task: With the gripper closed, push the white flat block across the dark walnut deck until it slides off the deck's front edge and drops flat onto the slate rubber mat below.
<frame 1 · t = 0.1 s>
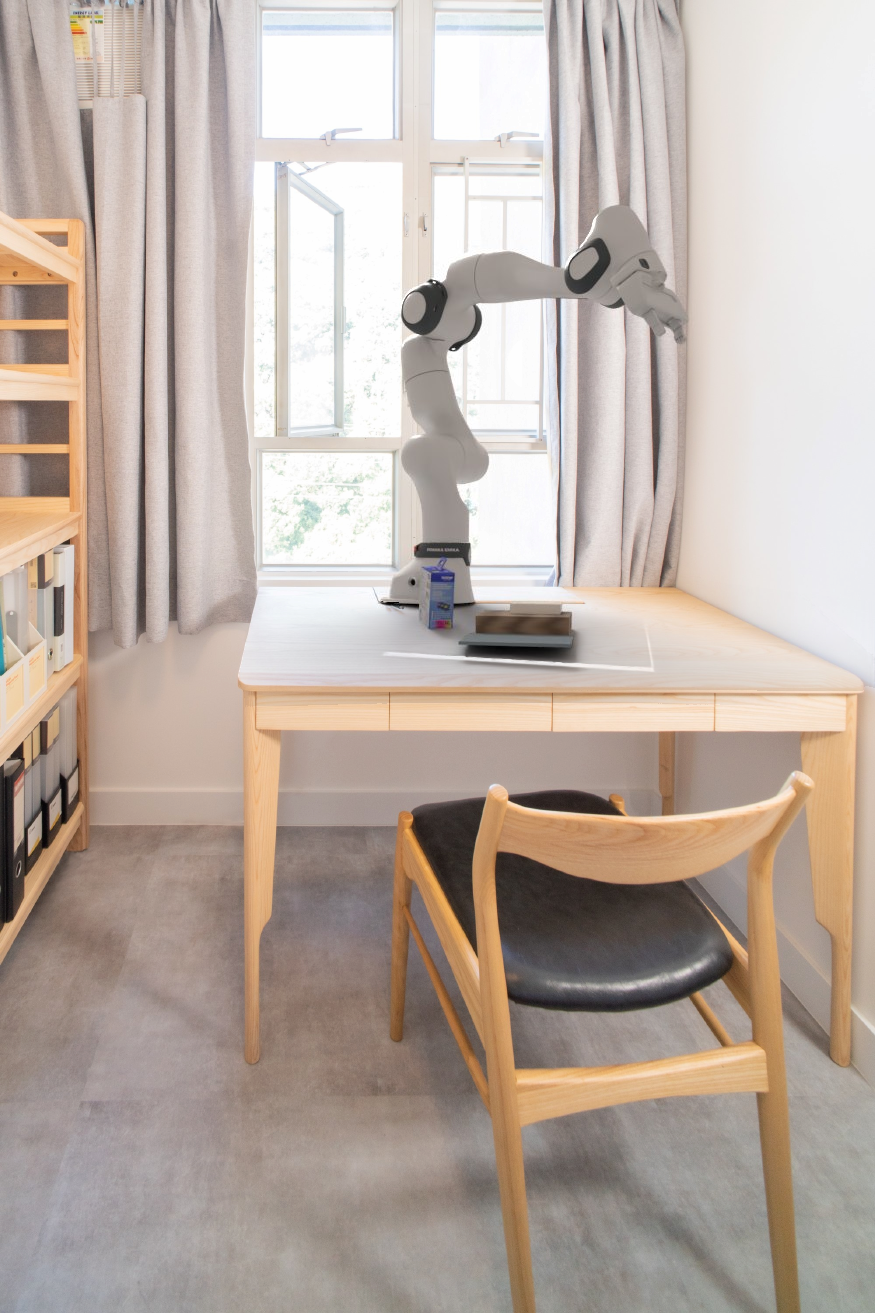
hand: (672, 338, 184), 58 cm above the table, tool tilted 30°, fingers open, 8 cm apart
ink cartridge box: (435, 628, 198), on the table
mat: (518, 641, 175), on the table
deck: (524, 633, 189), on the table
white flat block: (536, 612, 192), point 4 cm above the table, touching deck
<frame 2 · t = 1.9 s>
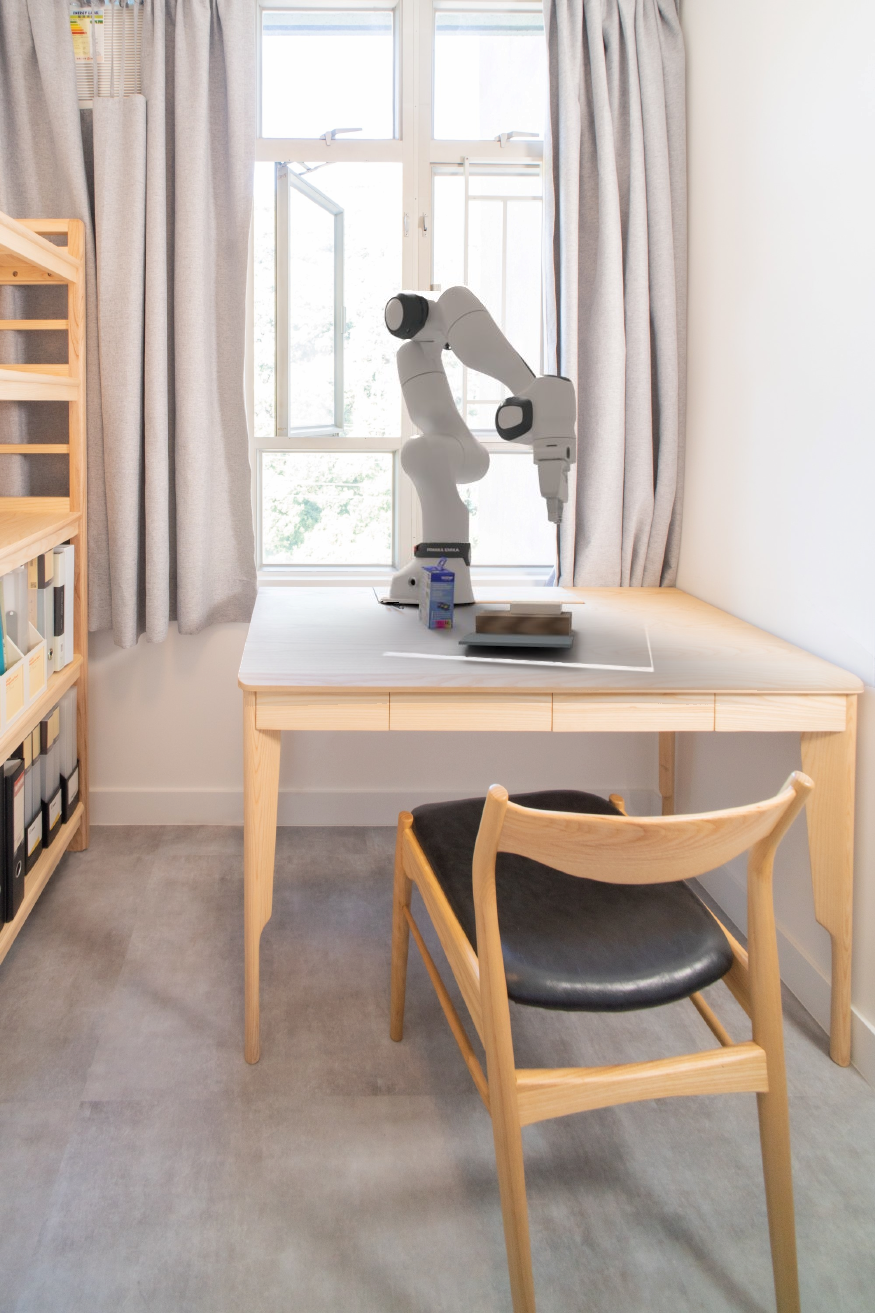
hand: (555, 522, 196), 22 cm above the table, tool pointing down, fingers open, 8 cm apart
nothing on the table moved.
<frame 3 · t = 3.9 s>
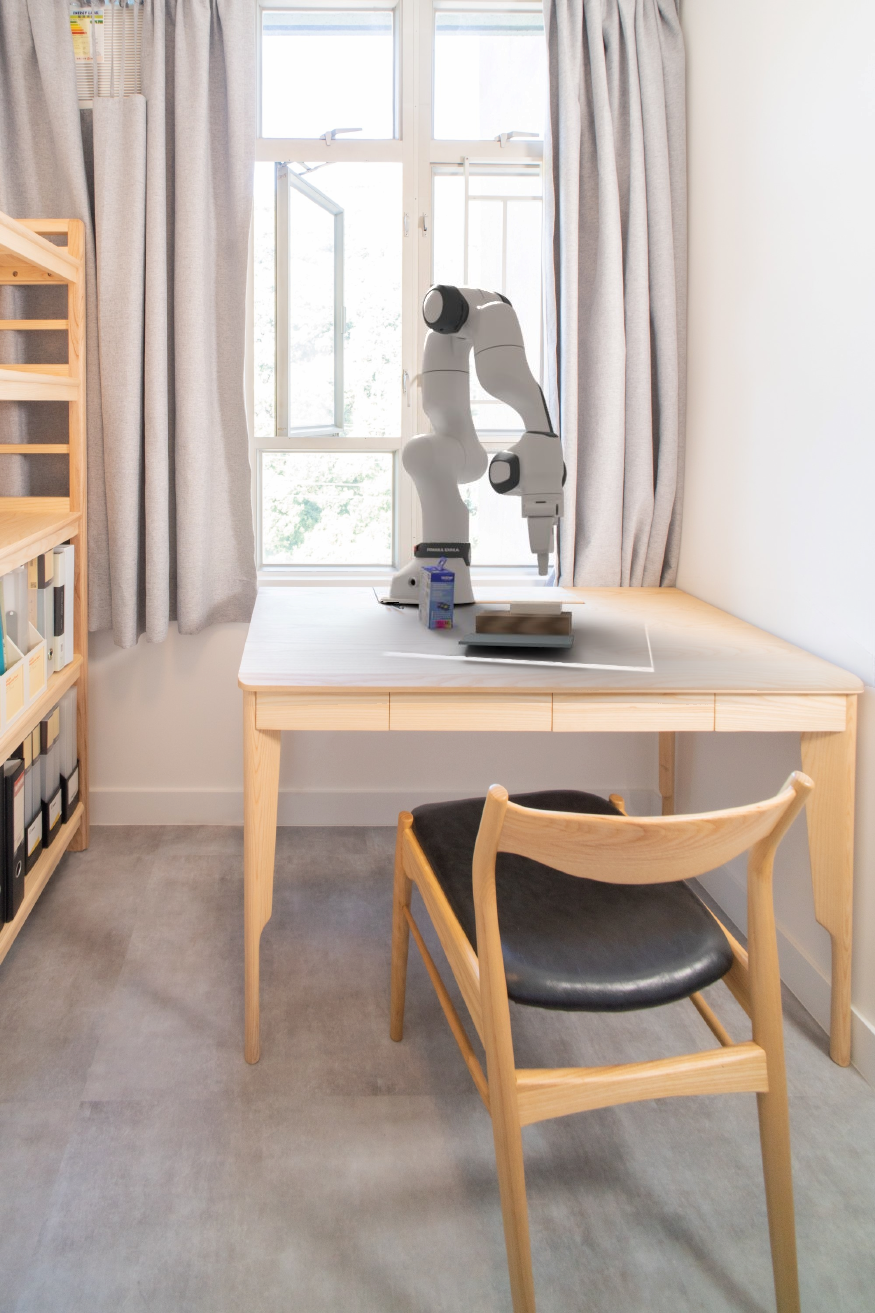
hand: (543, 575, 199), 11 cm above the table, tool pointing down, fingers closed
nothing on the table moved.
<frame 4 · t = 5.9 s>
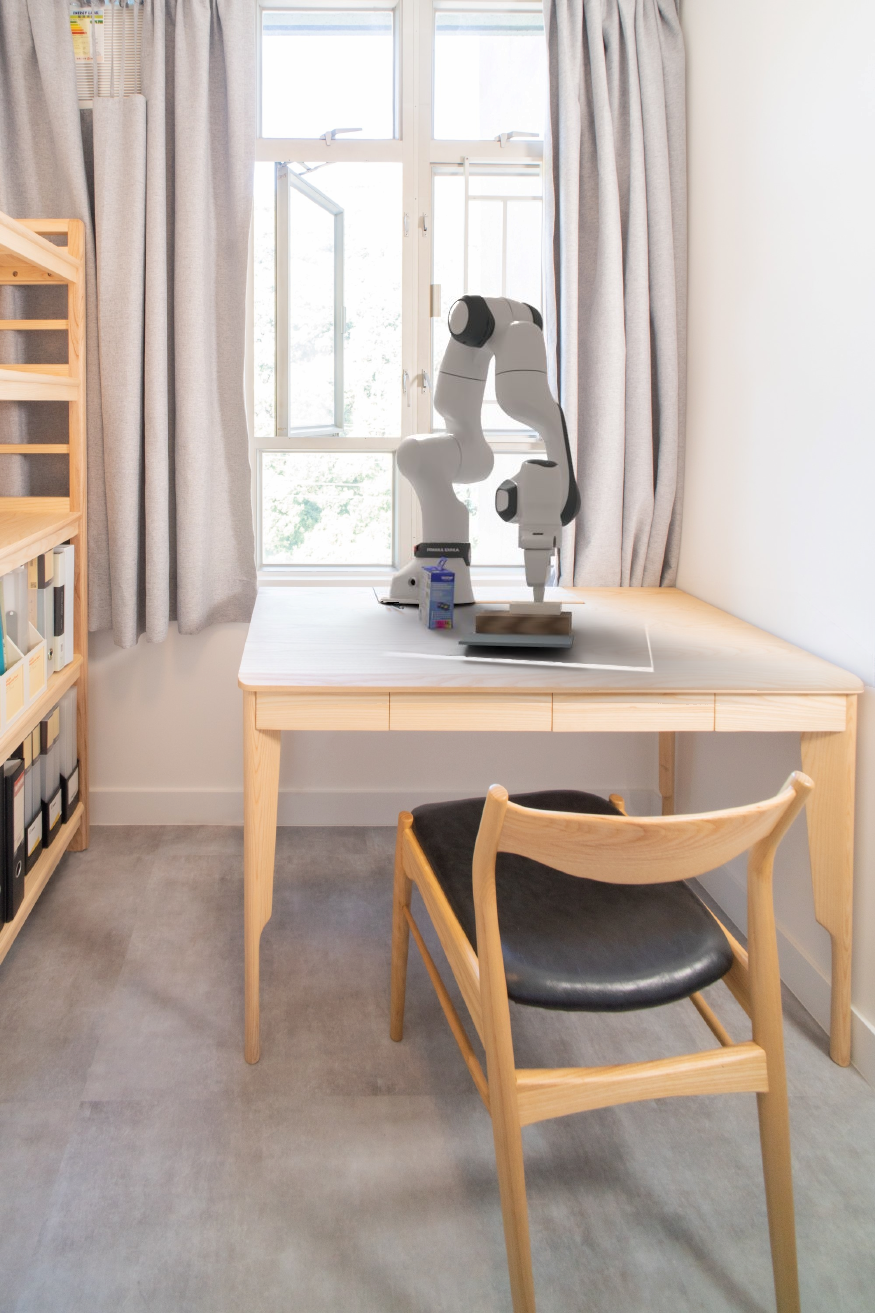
hand: (538, 607, 195), 5 cm above the table, tool pointing down, fingers closed
white flat block: (535, 612, 191), point 4 cm above the table, touching gripper
everything else where it was.
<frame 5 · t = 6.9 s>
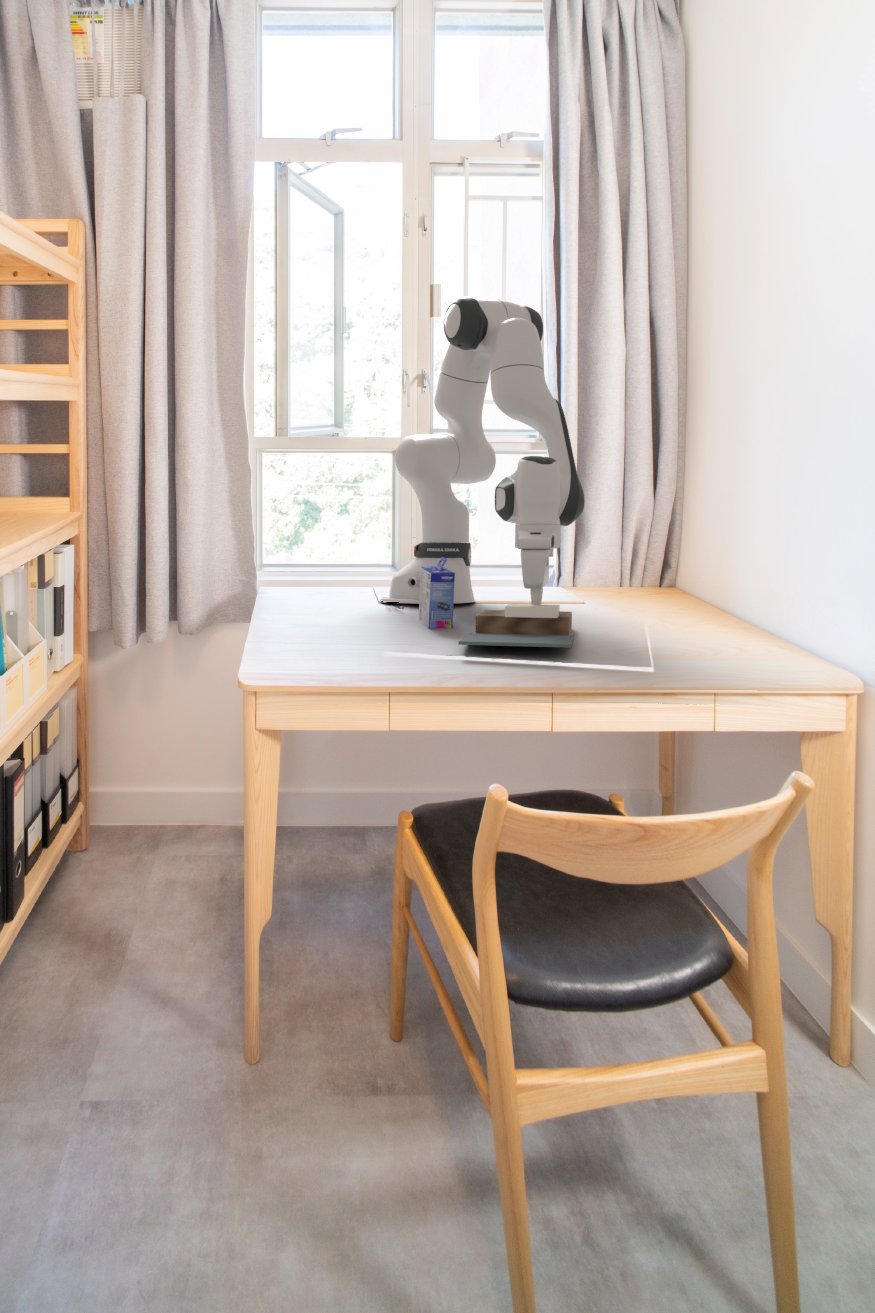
hand: (536, 609, 188), 5 cm above the table, tool pointing down, fingers closed
white flat block: (532, 615, 183), point 4 cm above the table, touching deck, gripper
everything else where it was.
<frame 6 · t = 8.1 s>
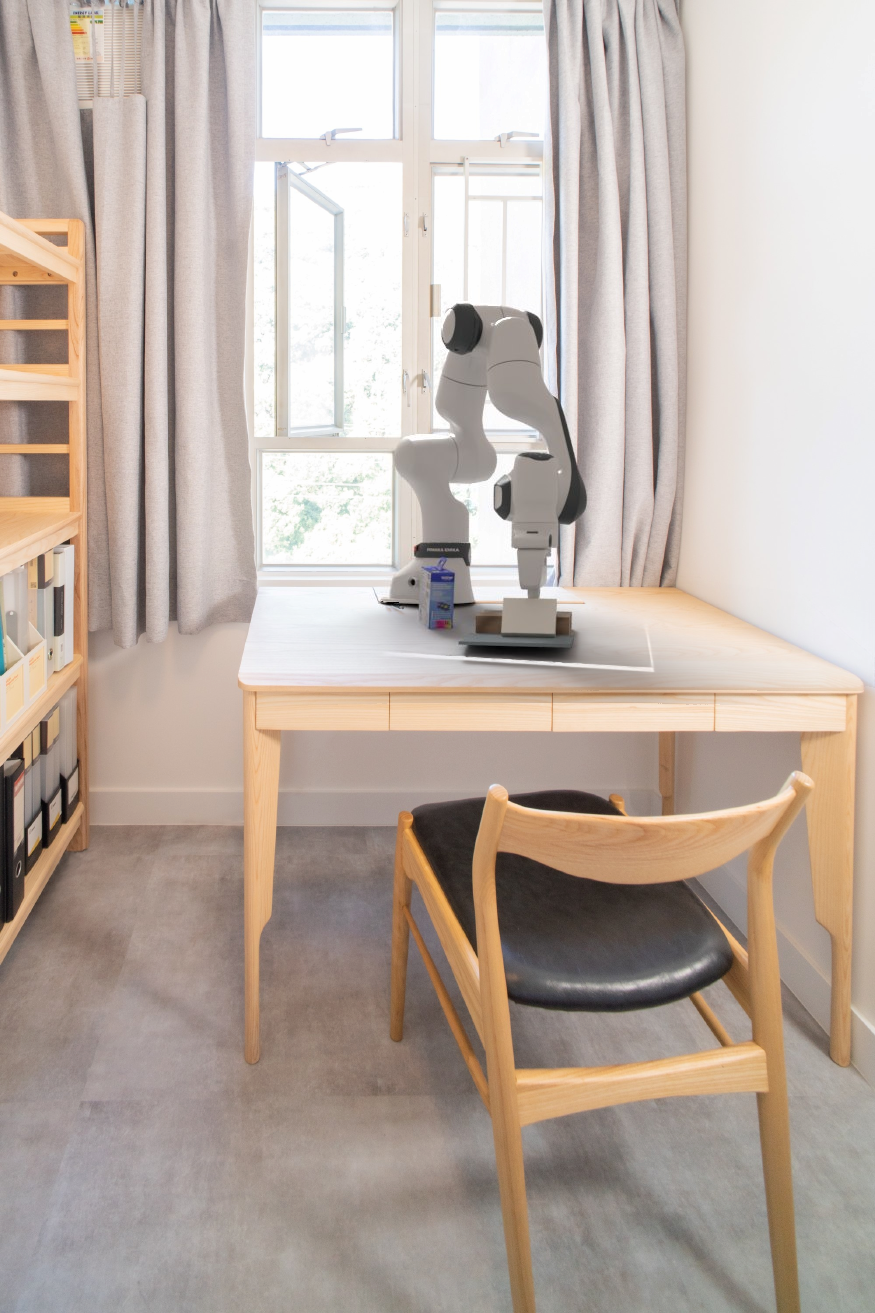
hand: (533, 611, 181), 5 cm above the table, tool pointing down, fingers closed
white flat block: (529, 619, 179), point 4 cm above the table, tilted 64°, touching gripper, mat
everything else where it was.
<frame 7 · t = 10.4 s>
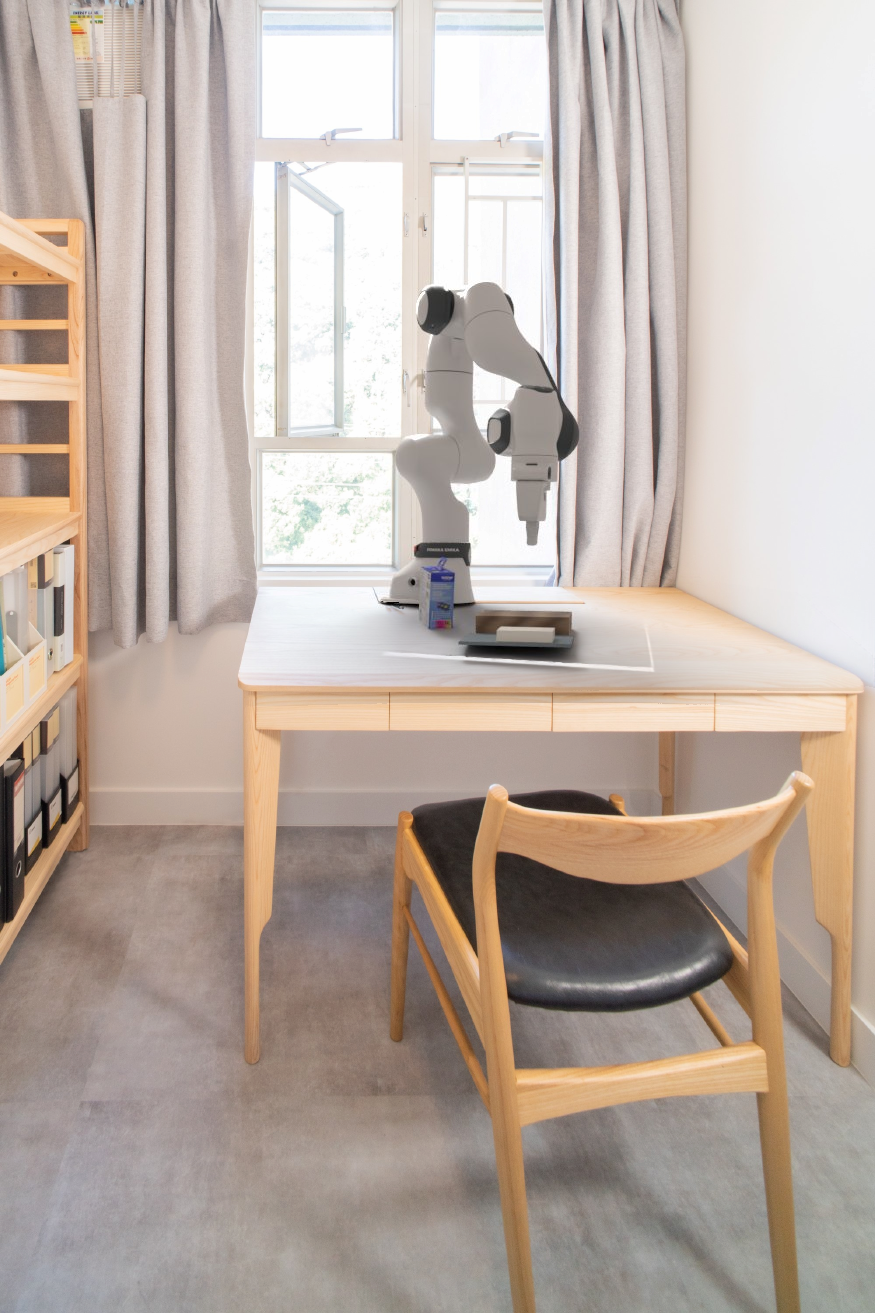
hand: (532, 545, 182), 18 cm above the table, tool pointing down, fingers closed
white flat block: (526, 628, 172), point 3 cm above the table, tilted 180°, touching mat
everything else where it was.
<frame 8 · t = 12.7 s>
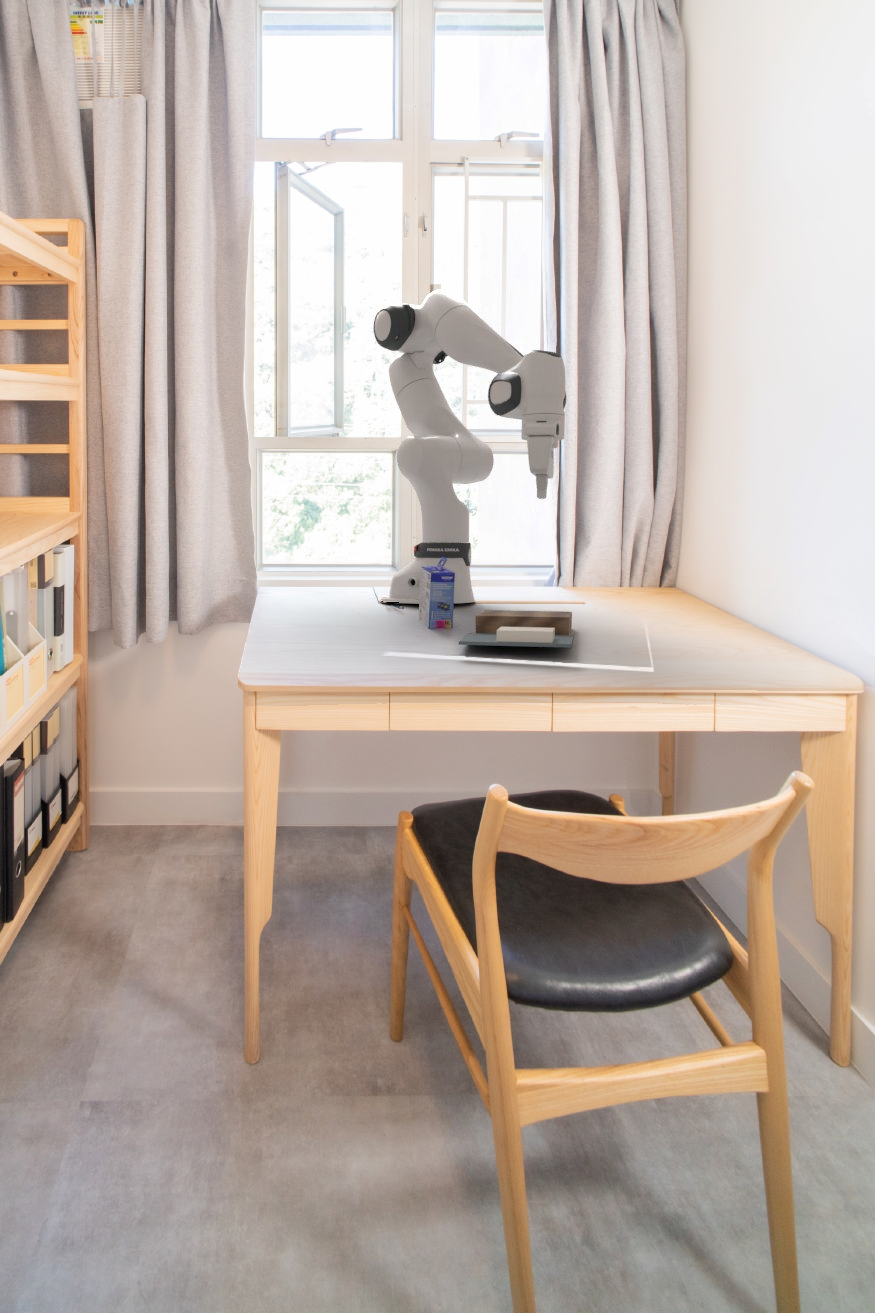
hand: (541, 498, 197), 27 cm above the table, tool pointing down, fingers closed
nothing on the table moved.
at the end: white flat block inside the target area (3.0 cm from its centre), point 2.6 cm above the table; white flat block touching mat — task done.
